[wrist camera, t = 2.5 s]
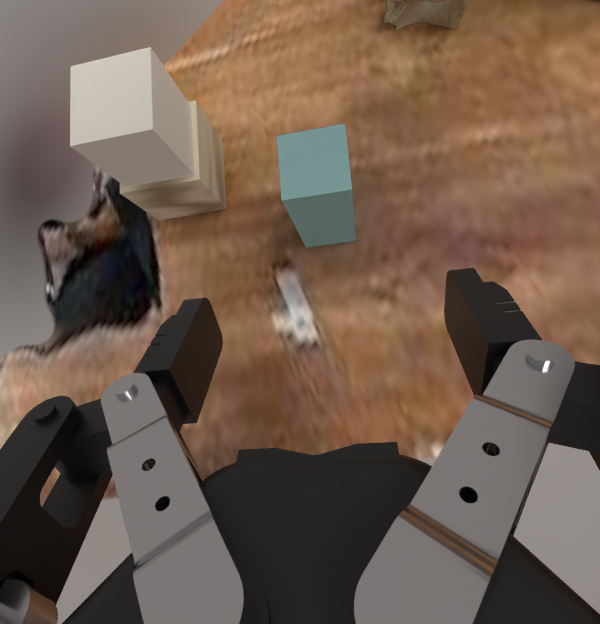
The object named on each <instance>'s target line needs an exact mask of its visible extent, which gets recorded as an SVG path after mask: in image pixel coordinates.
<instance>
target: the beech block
mask: <svg viewBox="0 0 600 624" xmlns="http://www.w3.org/2000/svg"><path fill="white" fill-rule="evenodd" d="M188 103H189V104H190V106H191V109H192V130H193V151H194V172H195V175H192V176H187V177H181V178H176V179H170V180H165V181H159V182H153V183H148V184H142V185H137V186H131V187H125V186H124V185H122V184H121V183H120V194H122V195H123V196H124V197H126V198H127V199H129V200H130V201H132V202H133V203H135V204H136V205H137V206H139V207H140V208H142V209H143V210H145V211H146V212H148V213H149V214H150V215H152V216H153V217H155V218H156V219H158V220H164V219H170V218H177V217H183V216H189V215H195V214H202V213H208V212H214V211H221V210H227V203H226V186H225V168H224V151H223V141H222V140H221V138H220V136H219V135H218V133H217V132H216V130H215V129H214V127H213V126H212V124H211V123H210V121H209V119H208V118H207V116H206V115H205V113H204V112H203V110H202V109H201V107H200V105H199V104H198V102H197V101H196V100H194V101H189V102H188Z"/></svg>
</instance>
